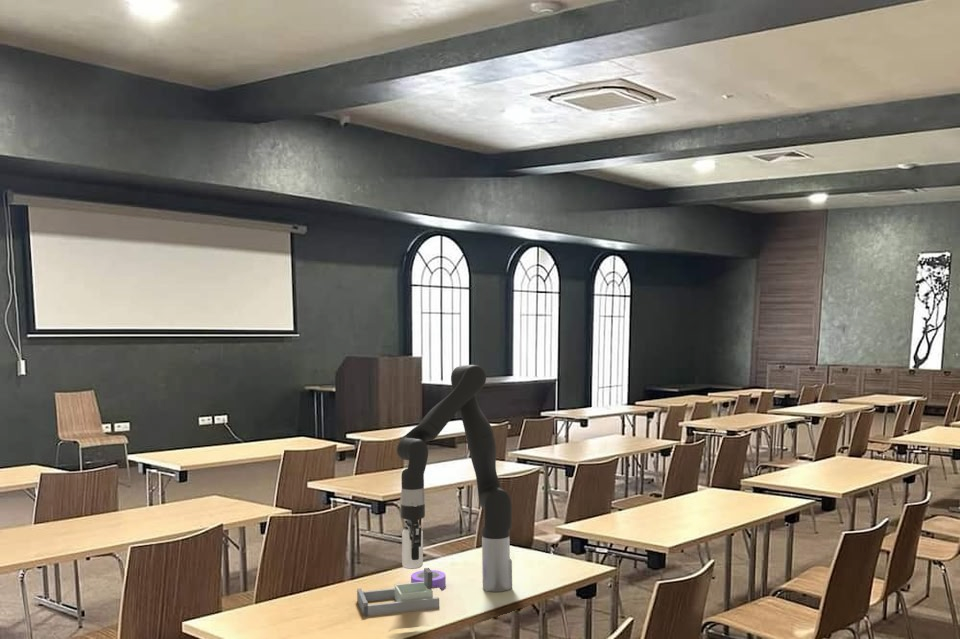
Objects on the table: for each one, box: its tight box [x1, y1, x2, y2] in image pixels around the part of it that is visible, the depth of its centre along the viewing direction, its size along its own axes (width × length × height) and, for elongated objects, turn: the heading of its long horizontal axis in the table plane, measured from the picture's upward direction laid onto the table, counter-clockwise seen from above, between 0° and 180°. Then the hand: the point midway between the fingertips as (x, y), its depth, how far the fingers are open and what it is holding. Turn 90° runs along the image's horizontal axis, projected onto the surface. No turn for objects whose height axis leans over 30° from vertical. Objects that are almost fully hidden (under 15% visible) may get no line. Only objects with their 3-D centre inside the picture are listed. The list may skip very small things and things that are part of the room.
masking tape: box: [410, 569, 447, 590], centre depth 258 cm, size 12×12×4 cm
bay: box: [356, 587, 440, 617], centre depth 236 cm, size 23×14×5 cm, turn 107°
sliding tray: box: [394, 567, 434, 602], centre depth 238 cm, size 10×10×10 cm
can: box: [401, 525, 424, 570], centre depth 239 cm, size 6×6×12 cm
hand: (413, 556), depth 238 cm, fingers closed on can, 5 cm apart
